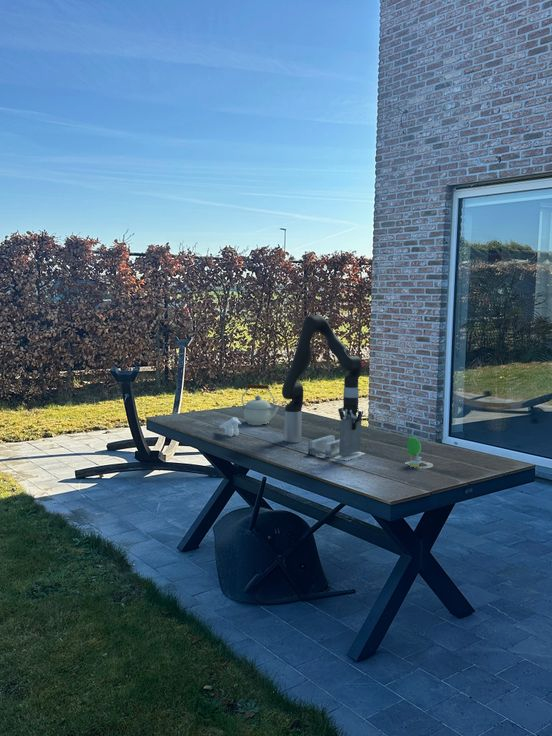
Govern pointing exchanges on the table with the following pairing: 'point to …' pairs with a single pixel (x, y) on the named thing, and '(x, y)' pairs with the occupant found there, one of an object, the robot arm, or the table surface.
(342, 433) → the hip flask
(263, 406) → the kettle
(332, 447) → the vise
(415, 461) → the train set
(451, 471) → the table surface
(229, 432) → the white dinosaur figurine
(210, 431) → the table surface
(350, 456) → the mat
